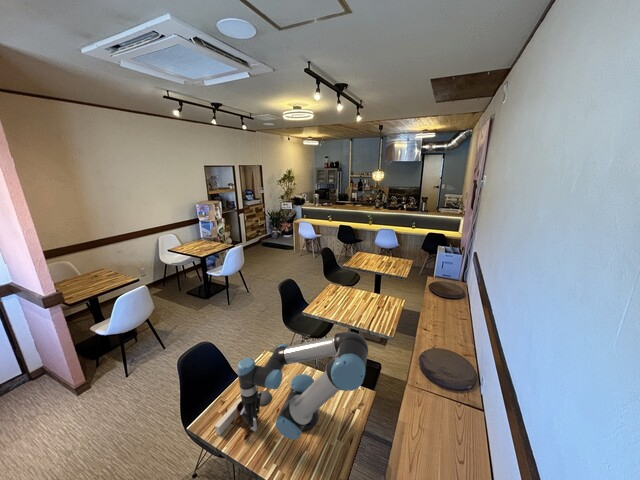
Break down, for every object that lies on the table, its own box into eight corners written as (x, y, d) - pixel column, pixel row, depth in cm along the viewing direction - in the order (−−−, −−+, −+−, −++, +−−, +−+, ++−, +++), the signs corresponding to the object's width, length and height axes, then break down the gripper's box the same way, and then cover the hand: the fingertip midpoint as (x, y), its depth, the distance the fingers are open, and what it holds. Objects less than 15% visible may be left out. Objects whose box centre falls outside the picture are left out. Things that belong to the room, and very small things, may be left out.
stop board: (251, 398, 140) (250, 391, 138) (219, 435, 121) (218, 427, 120) (247, 397, 141) (247, 389, 140) (215, 433, 122) (214, 425, 121)
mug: (242, 439, 120) (240, 424, 117) (228, 433, 122) (226, 418, 119) (256, 416, 131) (255, 401, 128) (243, 411, 133) (242, 397, 130)
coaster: (274, 395, 142) (274, 394, 142) (264, 408, 134) (264, 407, 134) (261, 389, 146) (261, 388, 146) (250, 401, 138) (250, 400, 138)
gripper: (252, 377, 124) (256, 414, 130) (232, 398, 112) (238, 438, 119) (264, 382, 120) (268, 420, 127) (245, 405, 109) (250, 445, 116)
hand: (253, 429), depth 123 cm, fingers closed
